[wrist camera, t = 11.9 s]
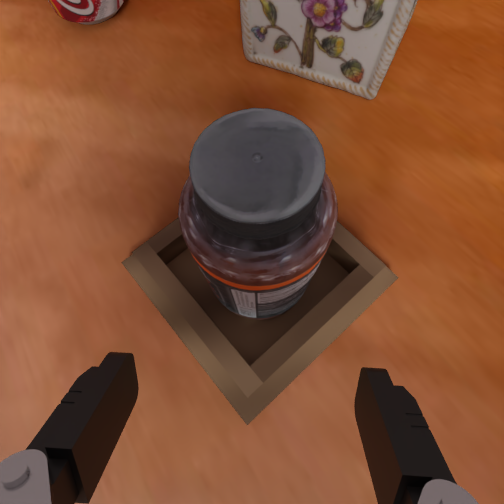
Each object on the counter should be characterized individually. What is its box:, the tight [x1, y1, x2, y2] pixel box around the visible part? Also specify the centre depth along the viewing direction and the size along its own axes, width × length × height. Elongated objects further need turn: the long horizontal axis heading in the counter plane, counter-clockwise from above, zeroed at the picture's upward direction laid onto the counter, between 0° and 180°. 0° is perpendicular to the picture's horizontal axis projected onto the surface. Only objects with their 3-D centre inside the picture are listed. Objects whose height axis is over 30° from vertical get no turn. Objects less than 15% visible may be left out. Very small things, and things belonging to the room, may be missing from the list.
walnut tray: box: [122, 217, 398, 425], centre depth 20 cm, size 12×12×3 cm
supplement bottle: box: [178, 108, 338, 320], centre depth 15 cm, size 6×6×11 cm
